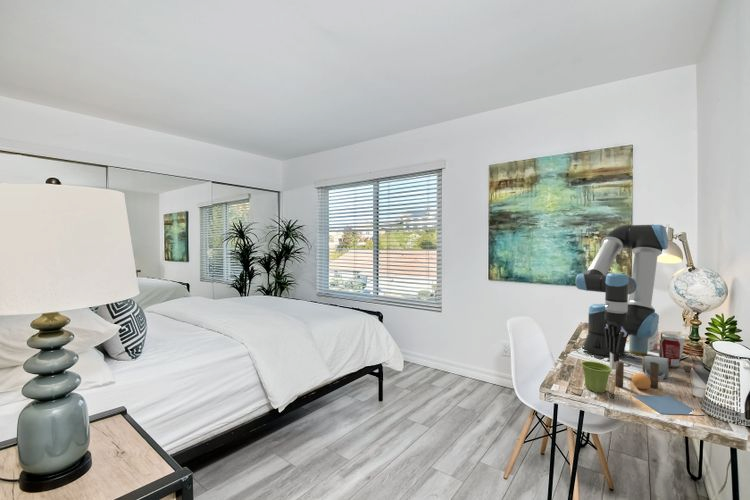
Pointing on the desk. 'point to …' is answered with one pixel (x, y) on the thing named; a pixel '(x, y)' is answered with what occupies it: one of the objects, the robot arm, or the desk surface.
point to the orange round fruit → (641, 381)
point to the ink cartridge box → (653, 341)
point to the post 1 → (619, 374)
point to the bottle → (638, 345)
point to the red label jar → (680, 340)
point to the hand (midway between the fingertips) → (614, 368)
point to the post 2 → (654, 374)
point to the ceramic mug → (662, 366)
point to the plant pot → (596, 375)
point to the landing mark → (665, 404)
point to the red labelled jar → (670, 351)
